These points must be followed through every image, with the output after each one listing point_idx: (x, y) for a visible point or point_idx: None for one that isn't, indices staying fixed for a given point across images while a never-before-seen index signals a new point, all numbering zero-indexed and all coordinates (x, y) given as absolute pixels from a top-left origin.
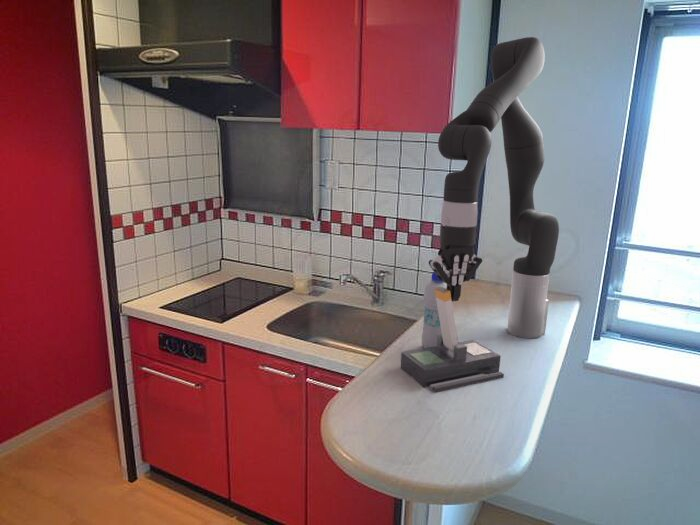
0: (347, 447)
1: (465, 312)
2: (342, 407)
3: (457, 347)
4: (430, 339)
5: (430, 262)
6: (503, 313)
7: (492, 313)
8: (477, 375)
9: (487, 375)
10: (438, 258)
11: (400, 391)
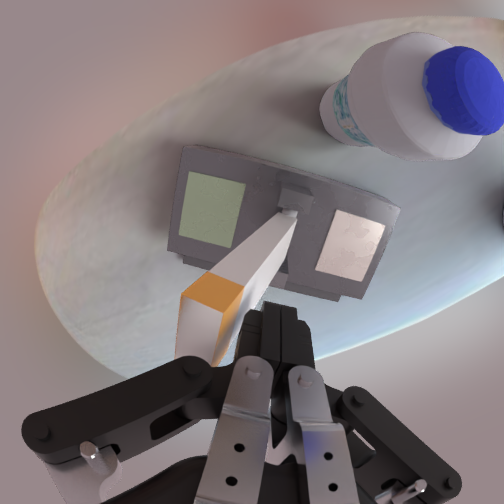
0: (41, 277)
1: None
2: (53, 208)
3: None
4: (325, 121)
5: (31, 438)
6: None
7: None
8: None
9: (309, 288)
10: (70, 498)
11: (136, 220)
